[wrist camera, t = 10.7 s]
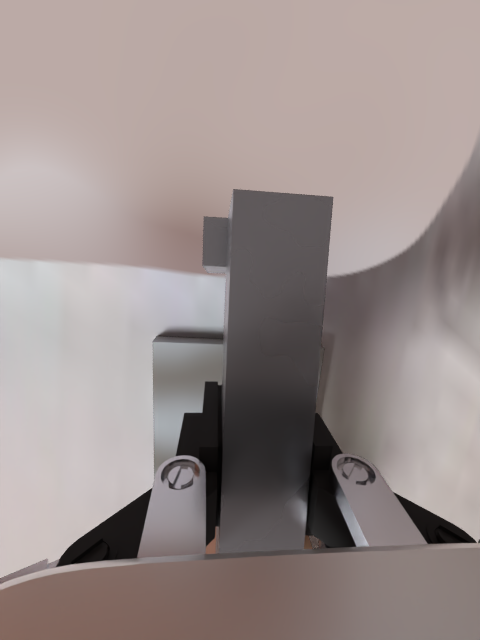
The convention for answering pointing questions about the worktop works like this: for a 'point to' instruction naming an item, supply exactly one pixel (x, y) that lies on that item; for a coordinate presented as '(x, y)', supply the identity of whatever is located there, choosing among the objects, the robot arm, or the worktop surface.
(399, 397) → the worktop surface
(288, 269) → the grey long bar
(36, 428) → the worktop surface
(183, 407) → the cubby
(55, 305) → the worktop surface
